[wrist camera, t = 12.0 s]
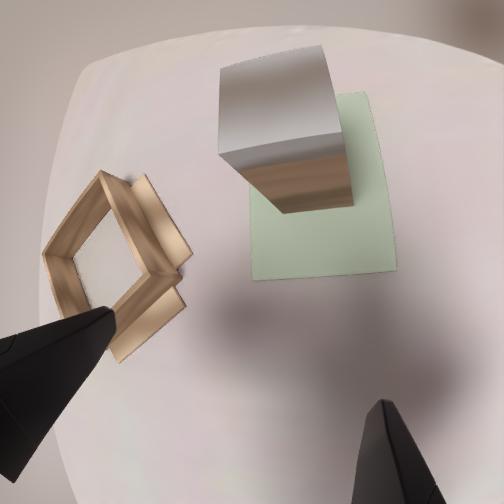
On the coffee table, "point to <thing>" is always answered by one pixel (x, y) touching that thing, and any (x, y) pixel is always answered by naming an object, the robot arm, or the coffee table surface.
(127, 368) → the coffee table surface
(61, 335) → the robot arm
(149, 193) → the wooden square frame
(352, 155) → the green mat
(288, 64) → the gray block
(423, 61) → the coffee table surface
